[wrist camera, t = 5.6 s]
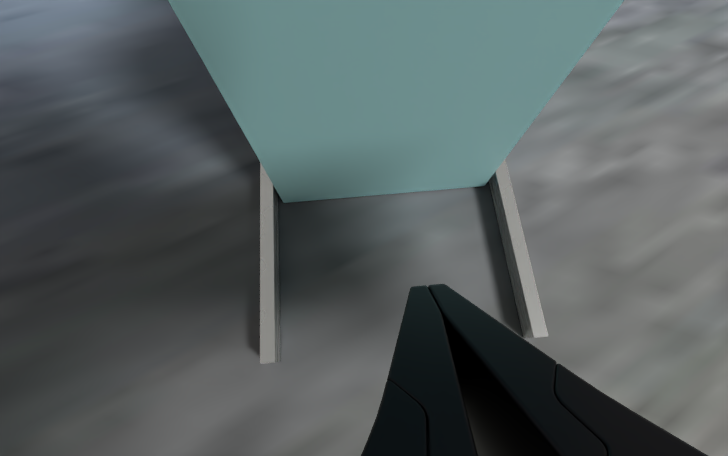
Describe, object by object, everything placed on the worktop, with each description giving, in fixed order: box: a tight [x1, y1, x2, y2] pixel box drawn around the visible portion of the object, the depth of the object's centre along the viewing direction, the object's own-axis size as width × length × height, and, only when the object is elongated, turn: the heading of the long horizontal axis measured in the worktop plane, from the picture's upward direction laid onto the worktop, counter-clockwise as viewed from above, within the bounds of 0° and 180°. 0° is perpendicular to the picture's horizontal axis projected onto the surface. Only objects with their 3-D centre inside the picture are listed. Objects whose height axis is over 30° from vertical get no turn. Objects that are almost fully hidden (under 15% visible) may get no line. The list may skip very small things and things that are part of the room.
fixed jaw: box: [260, 159, 548, 364], centre depth 13 cm, size 20×12×12 cm, turn 5°
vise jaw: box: [168, 0, 624, 203], centre depth 12 cm, size 3×10×12 cm, turn 95°
